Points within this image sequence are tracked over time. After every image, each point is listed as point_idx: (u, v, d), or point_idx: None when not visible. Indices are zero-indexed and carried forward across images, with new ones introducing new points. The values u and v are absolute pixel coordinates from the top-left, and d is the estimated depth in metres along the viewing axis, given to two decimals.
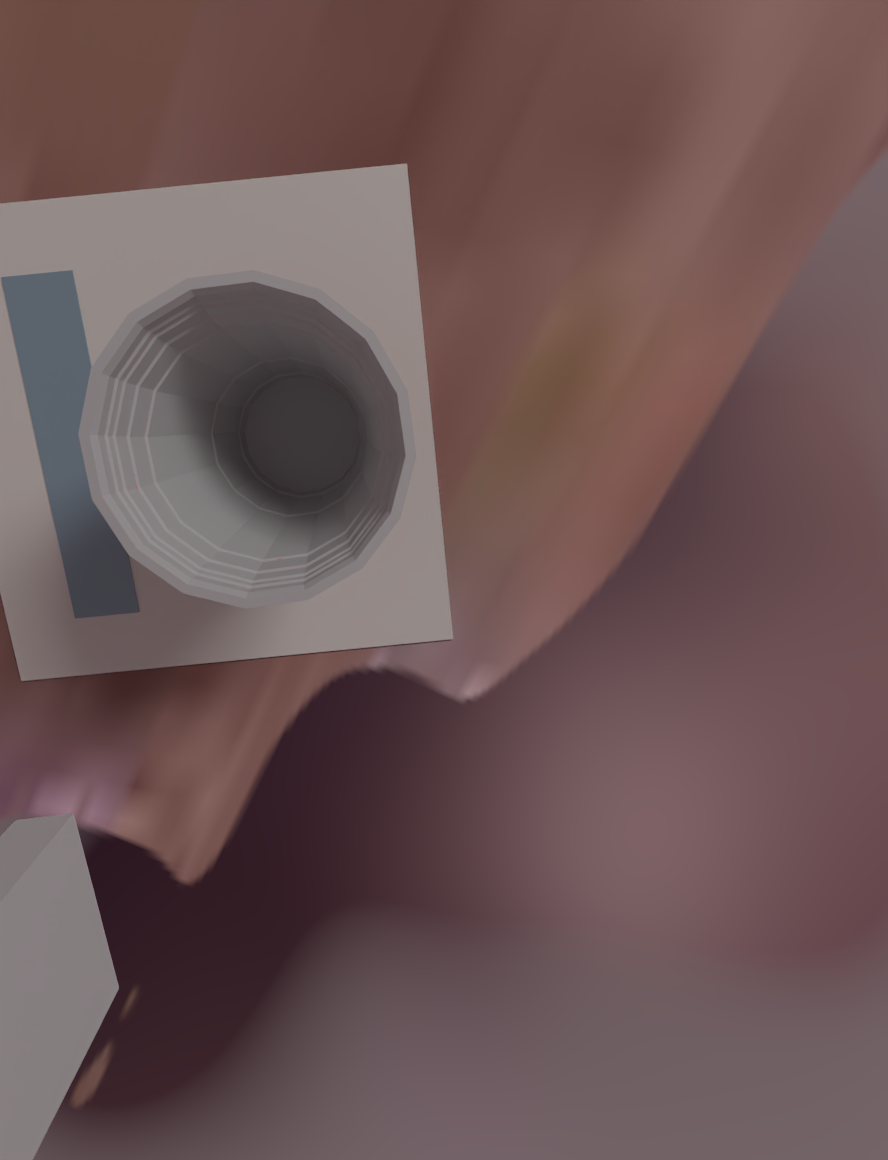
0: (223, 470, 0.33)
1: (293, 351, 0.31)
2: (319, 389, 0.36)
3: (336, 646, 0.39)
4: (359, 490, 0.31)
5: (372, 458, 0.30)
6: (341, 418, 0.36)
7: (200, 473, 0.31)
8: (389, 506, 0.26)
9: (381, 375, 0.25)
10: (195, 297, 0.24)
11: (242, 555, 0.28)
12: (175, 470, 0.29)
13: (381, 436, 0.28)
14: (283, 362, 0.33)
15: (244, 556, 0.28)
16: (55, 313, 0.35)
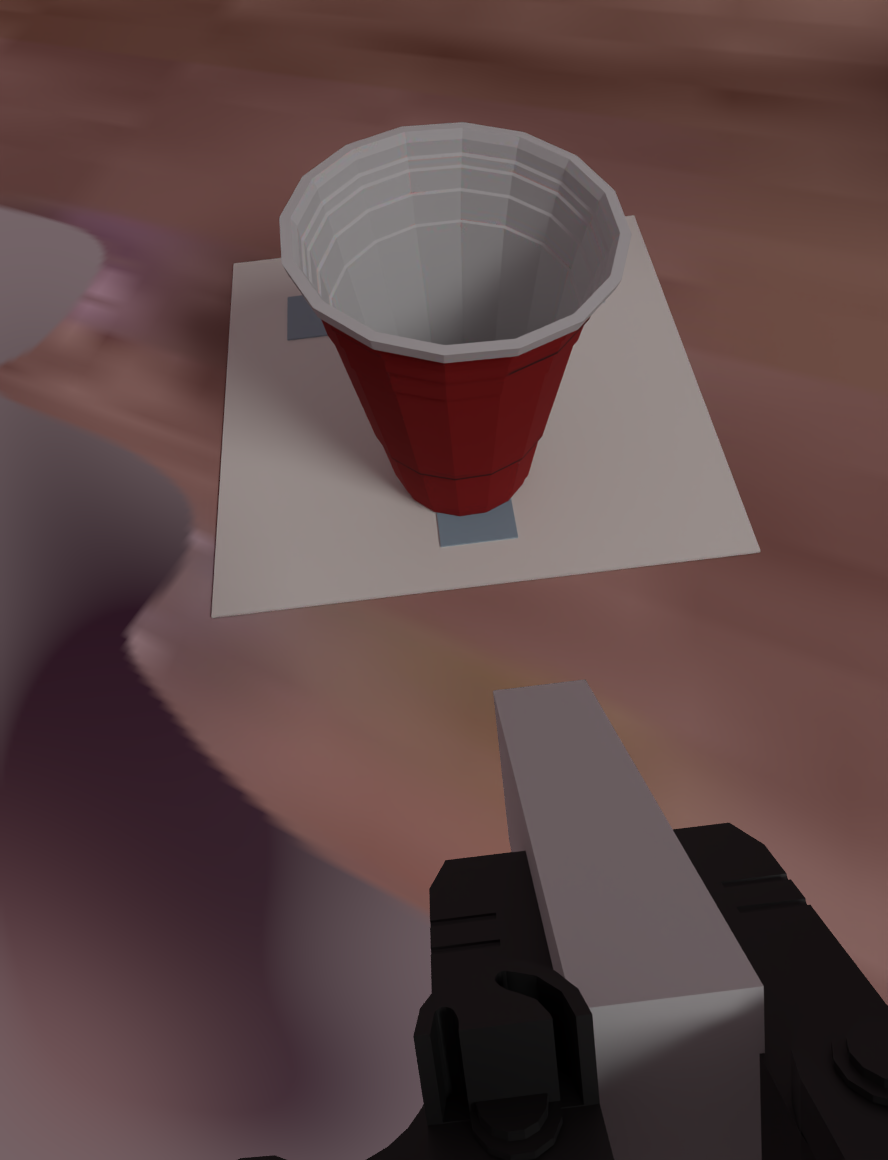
0: None
1: None
2: None
3: (223, 499, 0.34)
4: None
5: None
6: None
7: (424, 314, 0.31)
8: None
9: None
10: (597, 204, 0.25)
11: (337, 282, 0.27)
12: (427, 267, 0.29)
13: None
14: None
15: (336, 282, 0.27)
16: None
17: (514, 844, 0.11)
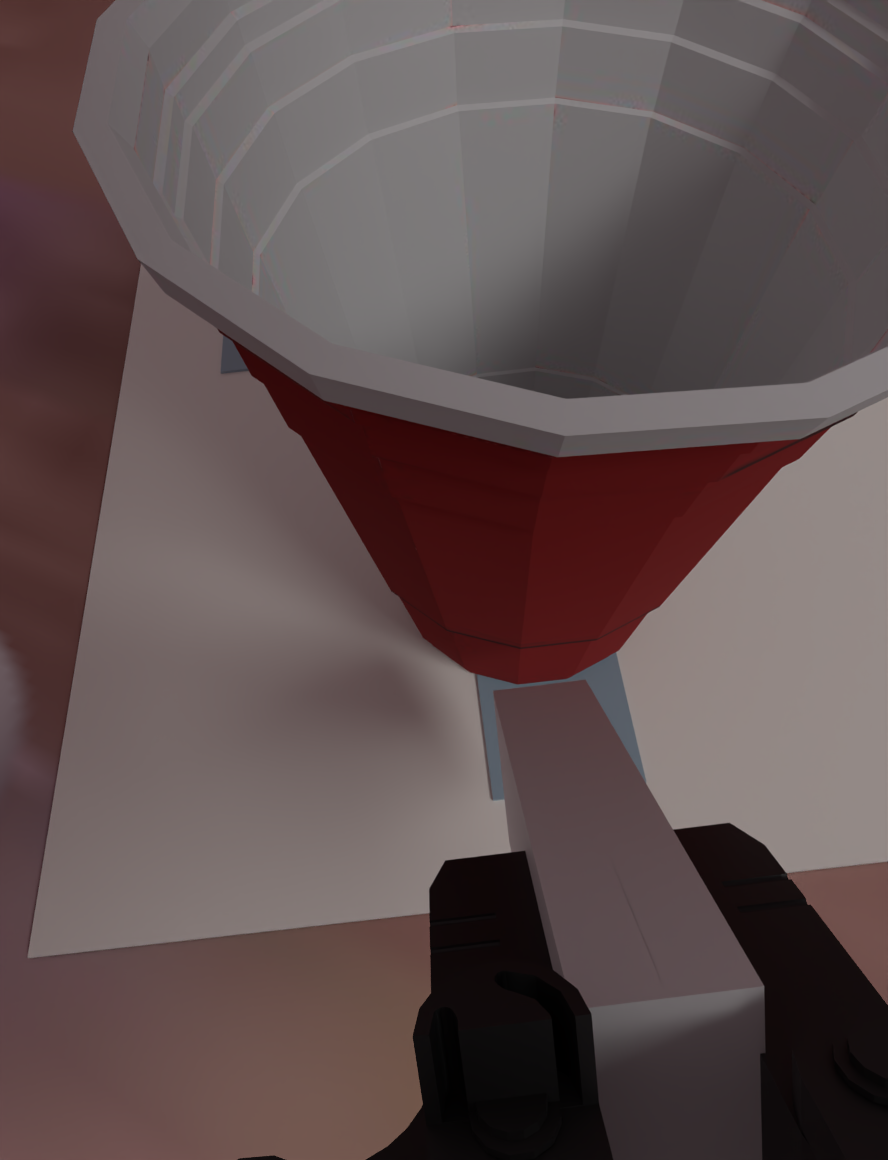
0: None
1: None
2: None
3: (83, 679, 0.18)
4: None
5: None
6: None
7: (464, 302, 0.16)
8: None
9: None
10: None
11: (276, 219, 0.12)
12: (477, 204, 0.14)
13: None
14: None
15: (273, 219, 0.12)
16: None
17: (514, 844, 0.11)
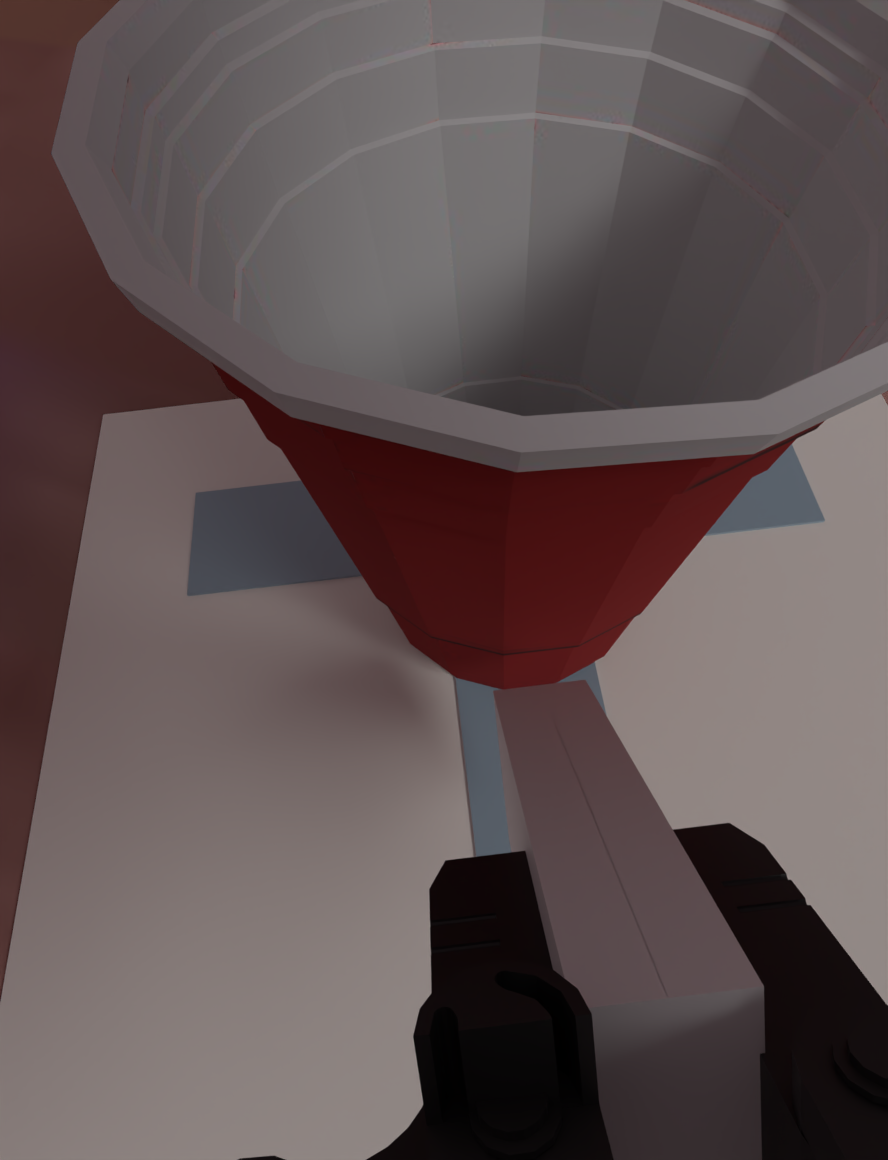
0: (451, 395, 0.17)
1: None
2: None
3: (4, 1052, 0.14)
4: None
5: None
6: None
7: (449, 313, 0.16)
8: None
9: None
10: None
11: (259, 234, 0.12)
12: (460, 216, 0.14)
13: None
14: None
15: (255, 234, 0.12)
16: (742, 491, 0.20)
17: (514, 844, 0.11)
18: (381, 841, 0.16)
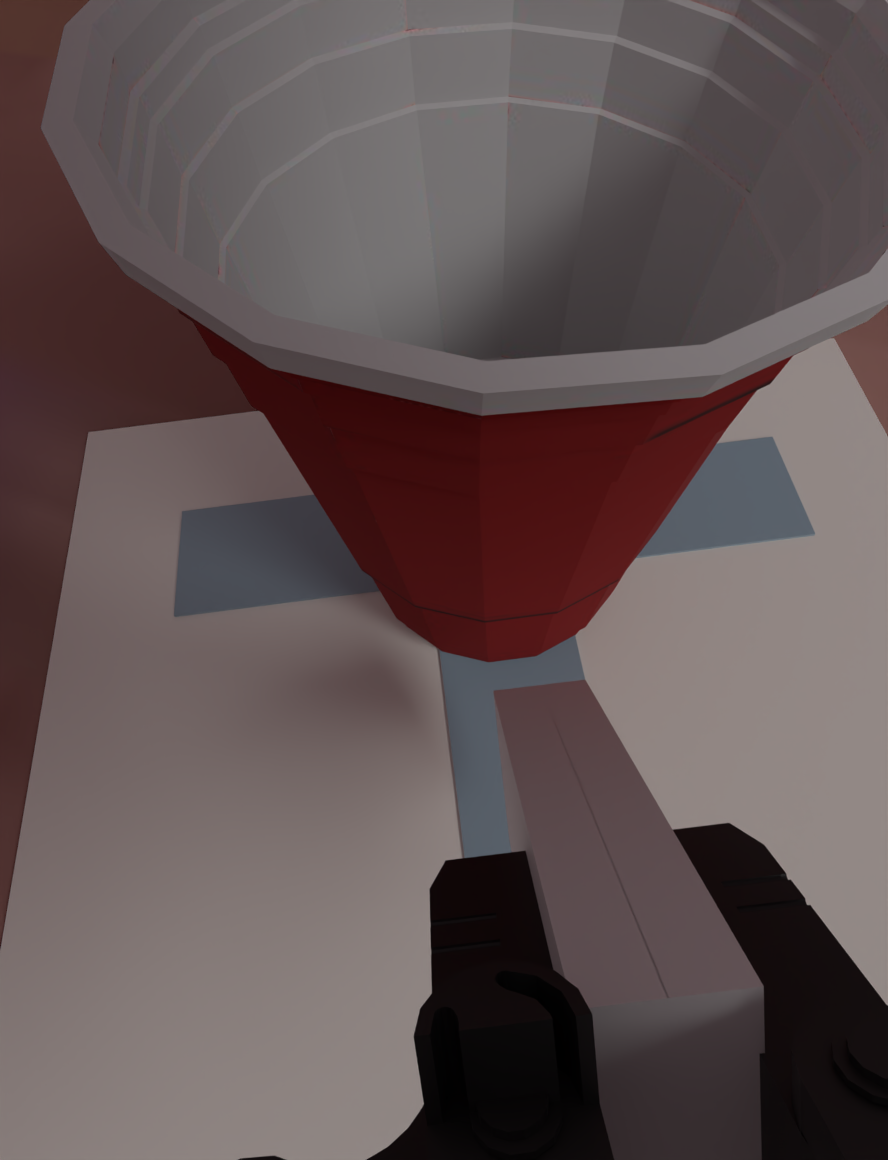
0: None
1: None
2: None
3: None
4: None
5: None
6: None
7: (430, 293, 0.16)
8: None
9: None
10: (850, 22, 0.10)
11: (242, 213, 0.12)
12: (438, 199, 0.15)
13: None
14: None
15: (238, 213, 0.12)
16: (732, 505, 0.20)
17: (514, 844, 0.11)
18: (371, 866, 0.16)
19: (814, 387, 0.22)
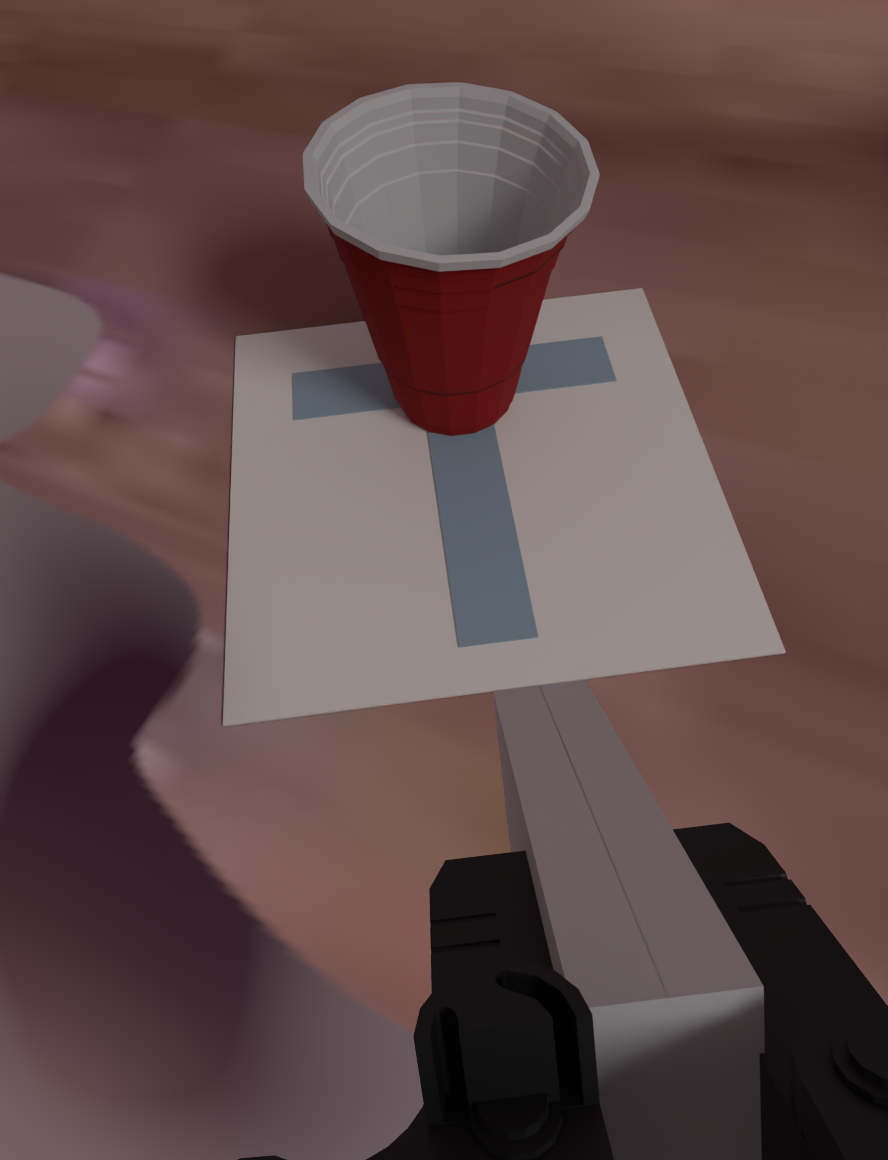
0: None
1: None
2: None
3: (232, 594, 0.33)
4: None
5: None
6: None
7: None
8: None
9: None
10: (573, 151, 0.29)
11: (349, 217, 0.31)
12: (427, 211, 0.34)
13: None
14: None
15: (348, 217, 0.31)
16: (577, 368, 0.38)
17: (514, 844, 0.11)
18: (396, 515, 0.34)
19: (628, 313, 0.41)
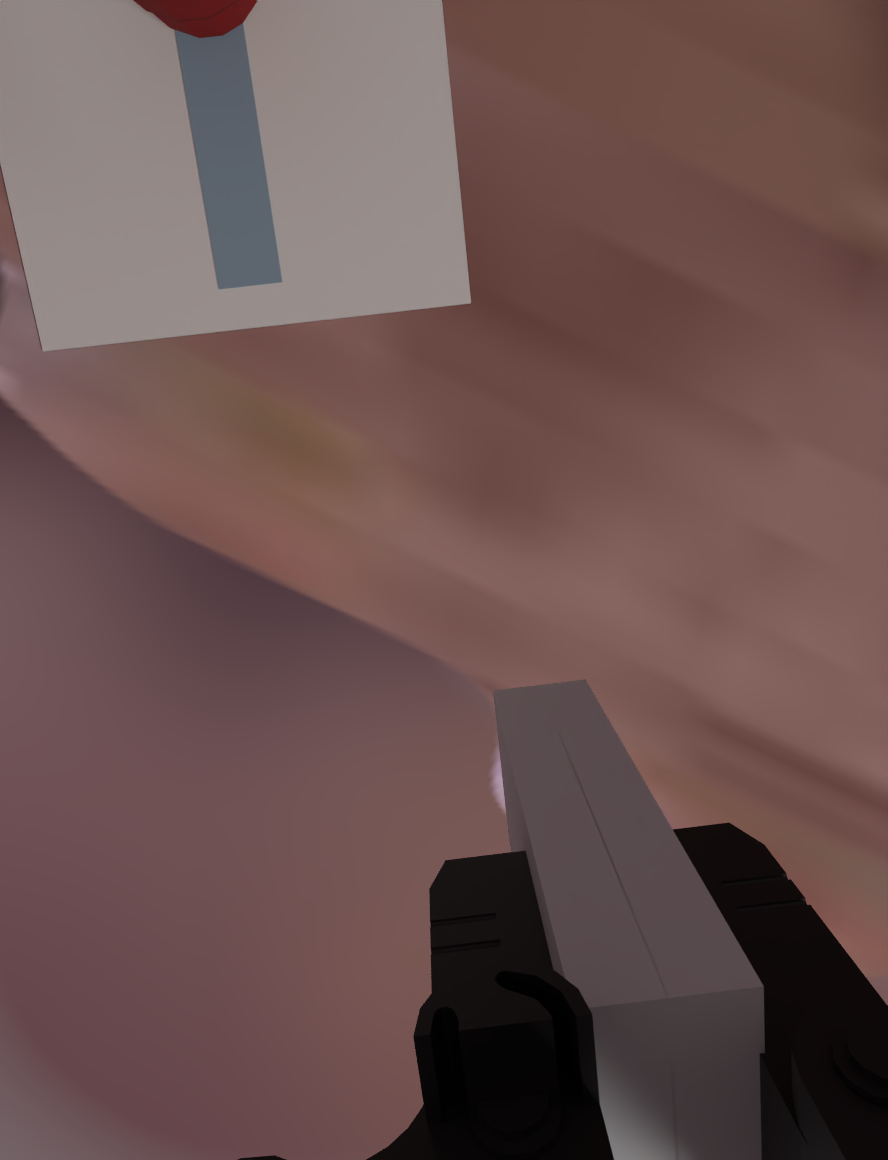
0: None
1: None
2: None
3: (19, 226, 0.38)
4: None
5: None
6: None
7: None
8: None
9: None
10: None
11: None
12: None
13: None
14: None
15: None
16: None
17: (514, 844, 0.11)
18: (154, 142, 0.37)
19: None
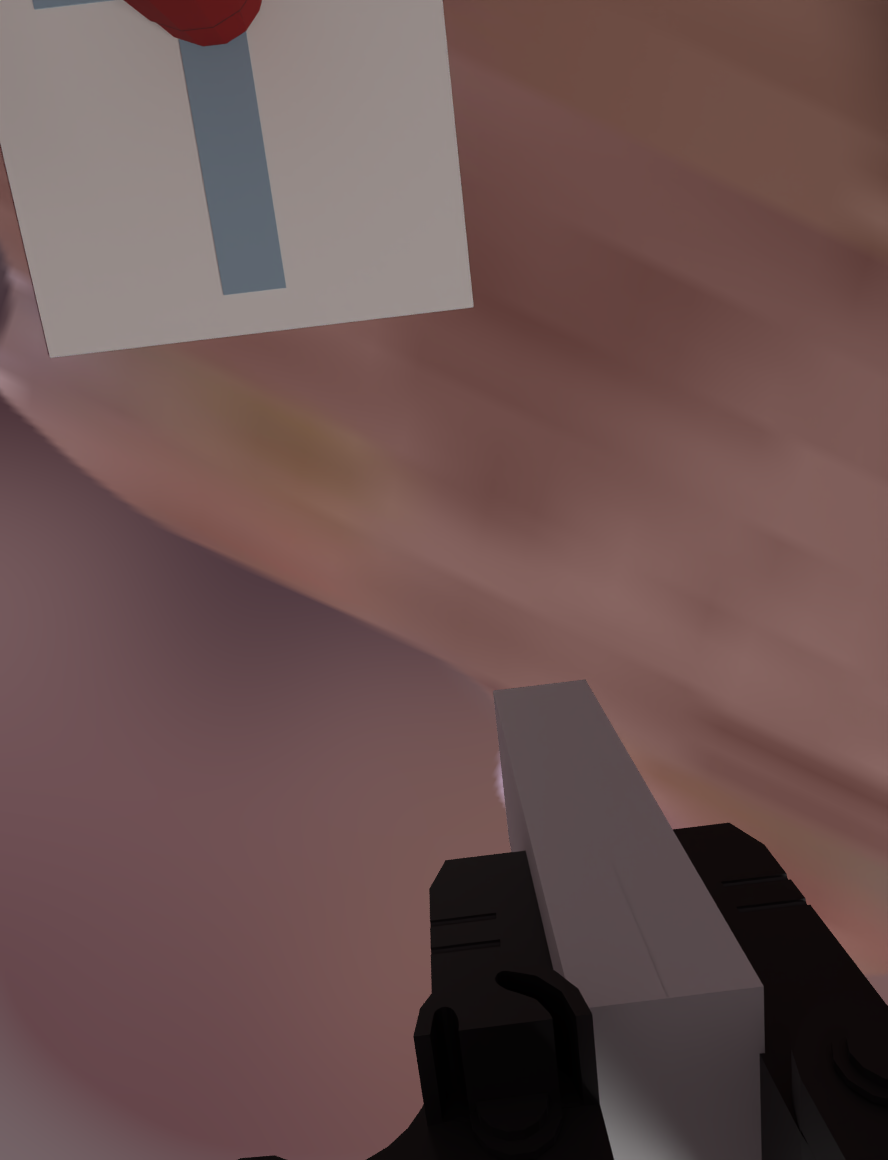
0: None
1: None
2: None
3: (26, 234, 0.38)
4: None
5: None
6: None
7: None
8: None
9: None
10: None
11: None
12: None
13: None
14: None
15: None
16: None
17: (514, 844, 0.11)
18: (159, 150, 0.37)
19: None
